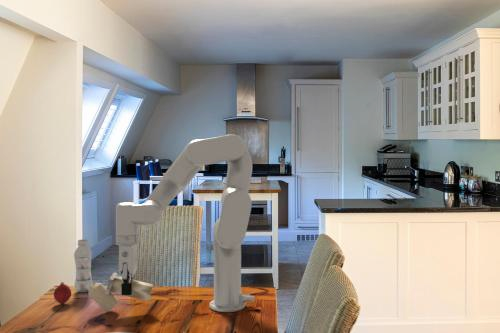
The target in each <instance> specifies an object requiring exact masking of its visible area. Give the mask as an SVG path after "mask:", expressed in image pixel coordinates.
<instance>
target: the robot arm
mask: <svg viewBox="0 0 500 333" xmlns="http://www.w3.org/2000/svg"><path fill="white" fill-rule="evenodd" d="M223 162H224V163H225V162H226V163H227V171H226V172H227V173H226V177H225V182H224V186H223V187H224V188H223V191H222V194H221V198H220V203H221V206H222V207H221V211H220V216H219V218H218V219H217V220H216V221H215V223H214V224H213V229H212V240H213V242H212V243H213V300H211V301H210V302H209V308H210V309H211V310H213V311H215V312H220V313H233V312H238V311H239V312H240V311H241V310H244V309H245V307H246V302H255V295H251V293H250V294H244V293H243V292H242V244H243V242H244V240H245V237H246V234H247V229H248V225H249V220H250V216H251V213H252V204H253V202H252V198H251V195H250V194H249V190H250V186H251V179H252V174H253V161H252V156H251V155H250V151H249V149H248V148H247V146H246V143H245V141H244V139H243V138H242V137H241V136H240V135H238V134H233V133H231V134H226V135H220V136H216V137H215V136H214V137H209V138H202V139H201V138H200V139H193V140H191V141H190V142H188V143H187V144H186V146H185V147H184V148H183V149H182V150H181V152H180V154H179V155H178V156H177V157H176V159H175V160H174V161H173V162H172V164H171V165H170V166H169V167H168V169H167V170H166V172H165V173H164V174H163V176H162V178H161V180H160V181H159V182H158V184H157V185H156V186H155V187H154V189H153V190H152V191H151V193H150V194H149V195H148V197H147V198H146V199H145V200H144V202H143V203H140V204H138V203H137V202H133V201H132V202H130V201H128V202H119V203H117V204H116V206H115V245H116V246H118V274H119V276H121V277H122V296H124V295H131V294H132V283H131V279H133V280H134V278H133V277H134V275H135V274H136V271H137V270H138V249H137V248H138V246H137V245H139V243H140V242H139V241H140V225H141V226H142V225H143V226H154V225H157V224H159V222H160V221H161V219H162V215H163V213H164V212H165V210H166V209H167V208H168V207H169V205H170V204H171V203H172V201H174V199H175V198H176V197H177V196H178V195H179V194H180V193H182V192H183V191H184V190H185V189H186V188H187V187H188V185H189V184H190V182H191V181H192V180H193V178H195V176H196V175H197V174H198V173H199V171H200V170H201V169H202V167H203V166H206V165H215V164H218V163H219V164H220V163H223Z"/></svg>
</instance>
